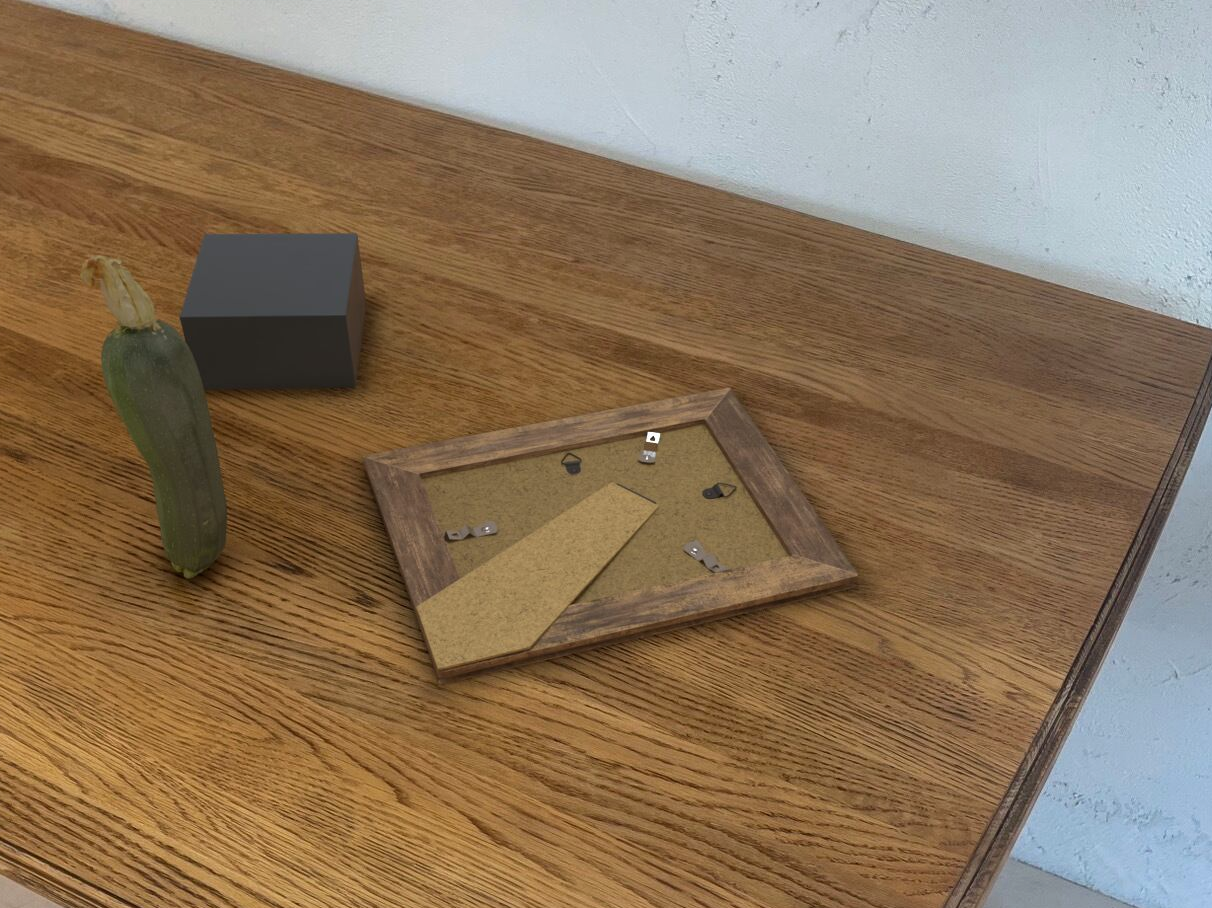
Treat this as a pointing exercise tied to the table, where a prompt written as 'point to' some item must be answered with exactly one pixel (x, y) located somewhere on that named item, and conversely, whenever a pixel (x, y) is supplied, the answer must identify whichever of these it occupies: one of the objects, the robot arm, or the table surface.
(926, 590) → the table surface
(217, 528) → the vegetable
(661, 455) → the picture frame
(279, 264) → the block
